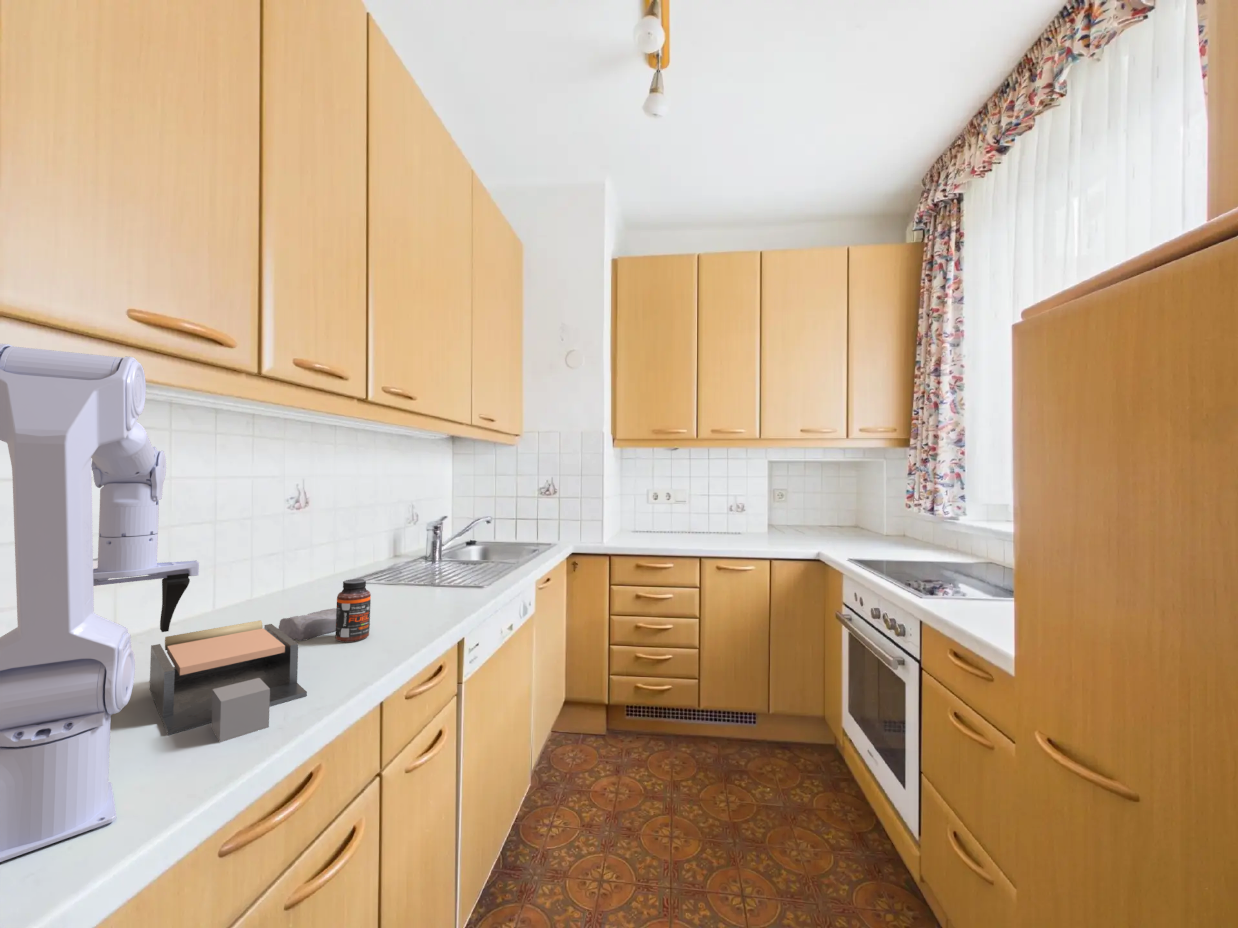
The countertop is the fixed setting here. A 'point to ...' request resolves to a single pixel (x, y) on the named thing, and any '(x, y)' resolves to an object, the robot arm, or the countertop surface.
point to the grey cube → (240, 709)
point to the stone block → (309, 624)
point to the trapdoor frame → (219, 683)
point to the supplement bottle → (353, 611)
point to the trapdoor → (221, 647)
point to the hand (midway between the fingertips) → (125, 636)
